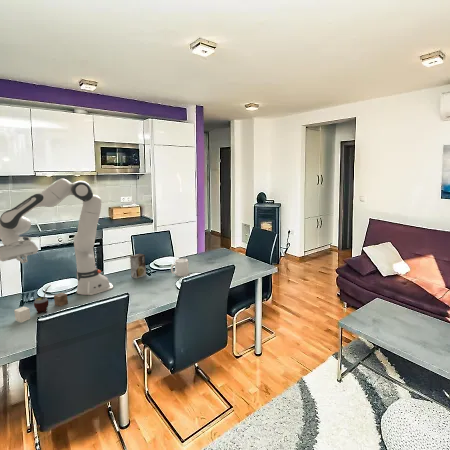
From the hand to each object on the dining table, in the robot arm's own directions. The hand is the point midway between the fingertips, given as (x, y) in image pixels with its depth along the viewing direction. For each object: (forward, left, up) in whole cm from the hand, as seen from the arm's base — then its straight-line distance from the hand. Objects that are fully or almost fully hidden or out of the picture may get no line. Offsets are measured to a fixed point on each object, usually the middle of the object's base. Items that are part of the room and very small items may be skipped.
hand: (24, 262), depth 181 cm
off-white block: (+5, +16, -27) cm, 32 cm away
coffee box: (-70, -13, -27) cm, 76 cm away
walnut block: (-15, +7, -27) cm, 32 cm away
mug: (-97, +2, -27) cm, 101 cm away
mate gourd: (-5, +11, -27) cm, 30 cm away
